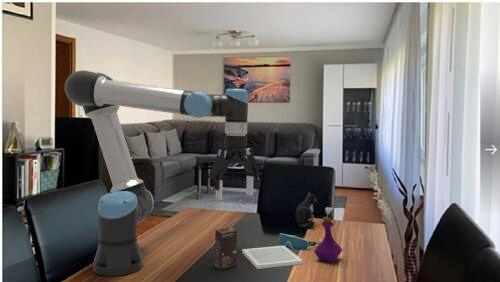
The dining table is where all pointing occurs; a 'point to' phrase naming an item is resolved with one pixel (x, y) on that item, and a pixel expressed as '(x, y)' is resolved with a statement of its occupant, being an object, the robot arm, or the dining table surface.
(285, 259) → the picture frame
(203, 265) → the dining table surface
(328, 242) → the perfume bottle
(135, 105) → the robot arm
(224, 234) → the box
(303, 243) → the sunglasses
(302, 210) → the figurine
